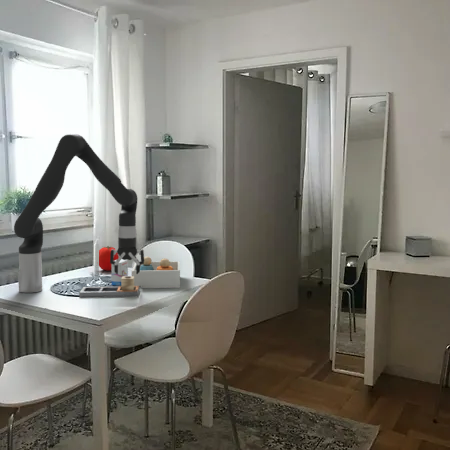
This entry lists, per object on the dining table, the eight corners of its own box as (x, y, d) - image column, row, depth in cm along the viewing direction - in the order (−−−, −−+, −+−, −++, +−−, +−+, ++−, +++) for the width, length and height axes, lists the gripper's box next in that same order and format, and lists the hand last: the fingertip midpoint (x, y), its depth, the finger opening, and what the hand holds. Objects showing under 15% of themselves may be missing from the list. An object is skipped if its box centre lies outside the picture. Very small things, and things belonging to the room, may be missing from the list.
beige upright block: (121, 295, 216) (121, 278, 215) (122, 292, 221) (122, 275, 220) (133, 294, 216) (133, 278, 215) (134, 291, 221) (134, 275, 220)
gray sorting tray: (79, 299, 212) (79, 292, 211) (83, 293, 222) (83, 286, 221) (137, 298, 214) (137, 291, 214) (139, 292, 224) (139, 285, 224)
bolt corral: (131, 288, 232) (131, 271, 231) (135, 277, 255) (135, 261, 254) (180, 287, 234) (180, 270, 233) (179, 276, 257) (179, 261, 256)
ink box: (121, 287, 233) (120, 262, 232) (111, 287, 234) (110, 261, 233) (128, 283, 241) (128, 259, 240) (118, 283, 242) (118, 258, 241)
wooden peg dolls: (182, 279, 253) (182, 254, 251) (169, 286, 236) (169, 260, 235) (149, 276, 257) (148, 252, 256) (134, 284, 241) (133, 258, 240)
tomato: (121, 268, 278) (120, 244, 276) (116, 272, 265) (116, 247, 264) (99, 268, 277) (99, 244, 276) (94, 272, 265) (93, 247, 264)
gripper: (109, 237, 211) (109, 275, 213) (143, 237, 213) (143, 275, 215) (111, 234, 219) (111, 271, 221) (144, 235, 220) (144, 271, 222)
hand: (127, 273), depth 218 cm, fingers open, 8 cm apart
